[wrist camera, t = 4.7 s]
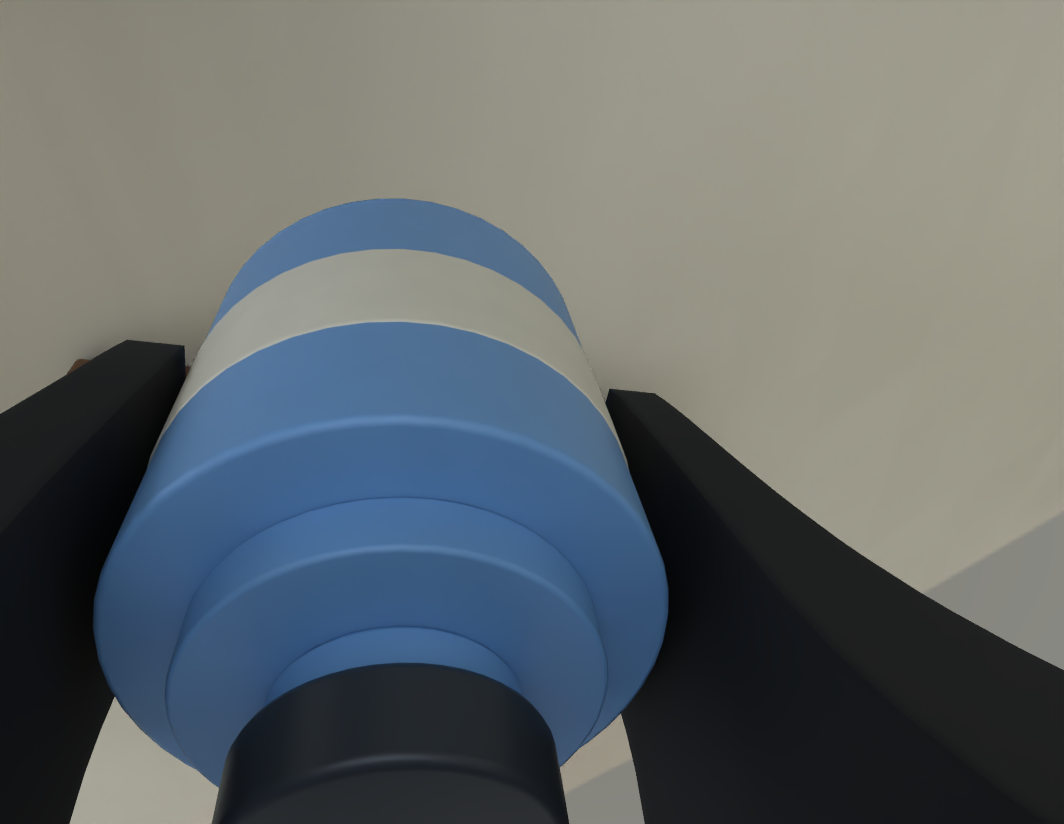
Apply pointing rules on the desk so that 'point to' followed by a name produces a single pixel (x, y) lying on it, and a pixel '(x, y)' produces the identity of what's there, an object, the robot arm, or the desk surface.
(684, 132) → the desk surface
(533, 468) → the bottle
